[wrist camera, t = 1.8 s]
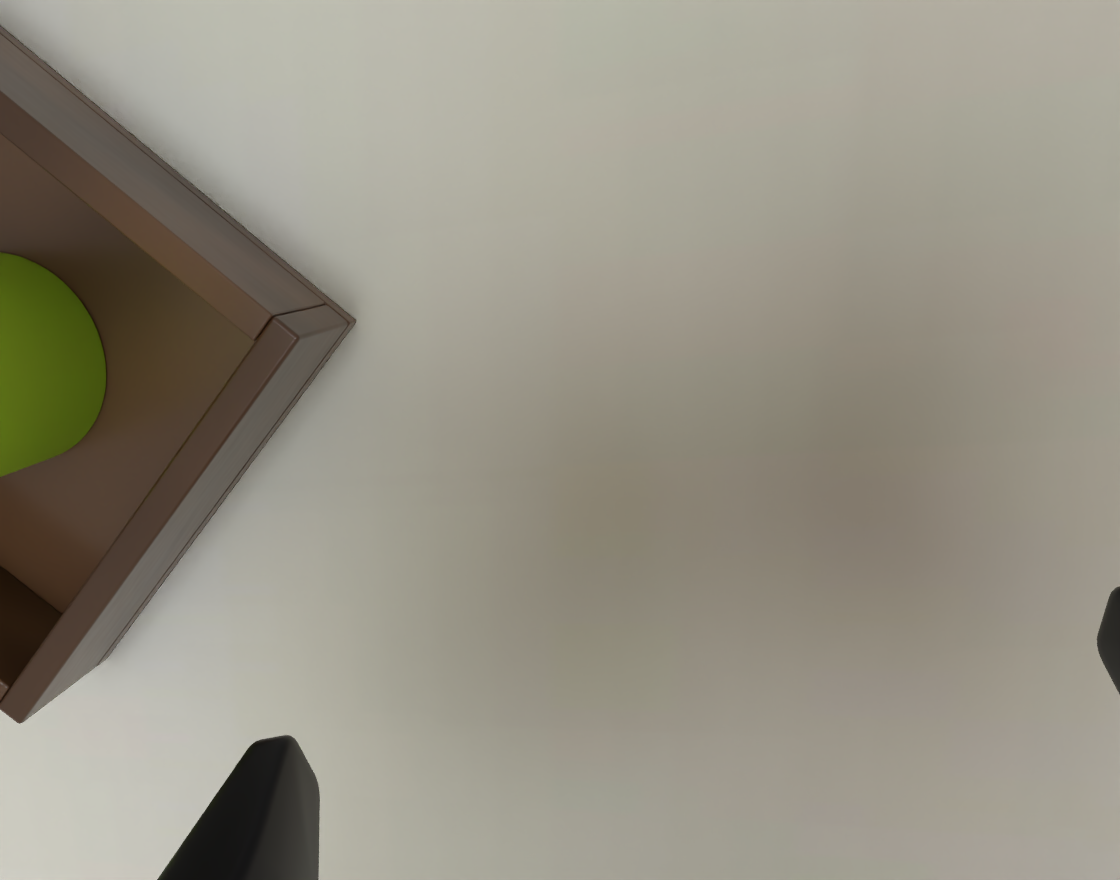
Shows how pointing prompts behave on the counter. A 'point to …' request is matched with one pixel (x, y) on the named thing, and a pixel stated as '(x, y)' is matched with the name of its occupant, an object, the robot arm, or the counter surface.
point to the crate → (132, 374)
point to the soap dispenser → (44, 365)
